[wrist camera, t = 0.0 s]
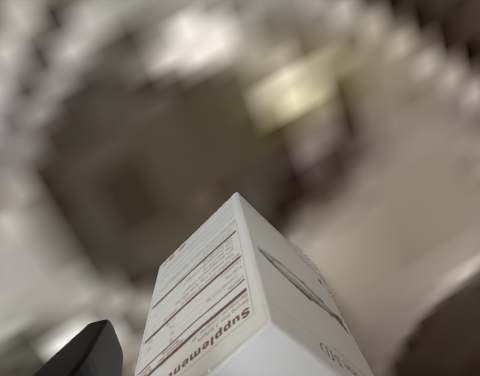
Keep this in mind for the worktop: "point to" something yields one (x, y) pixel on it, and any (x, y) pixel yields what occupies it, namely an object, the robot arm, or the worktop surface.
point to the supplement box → (244, 307)
